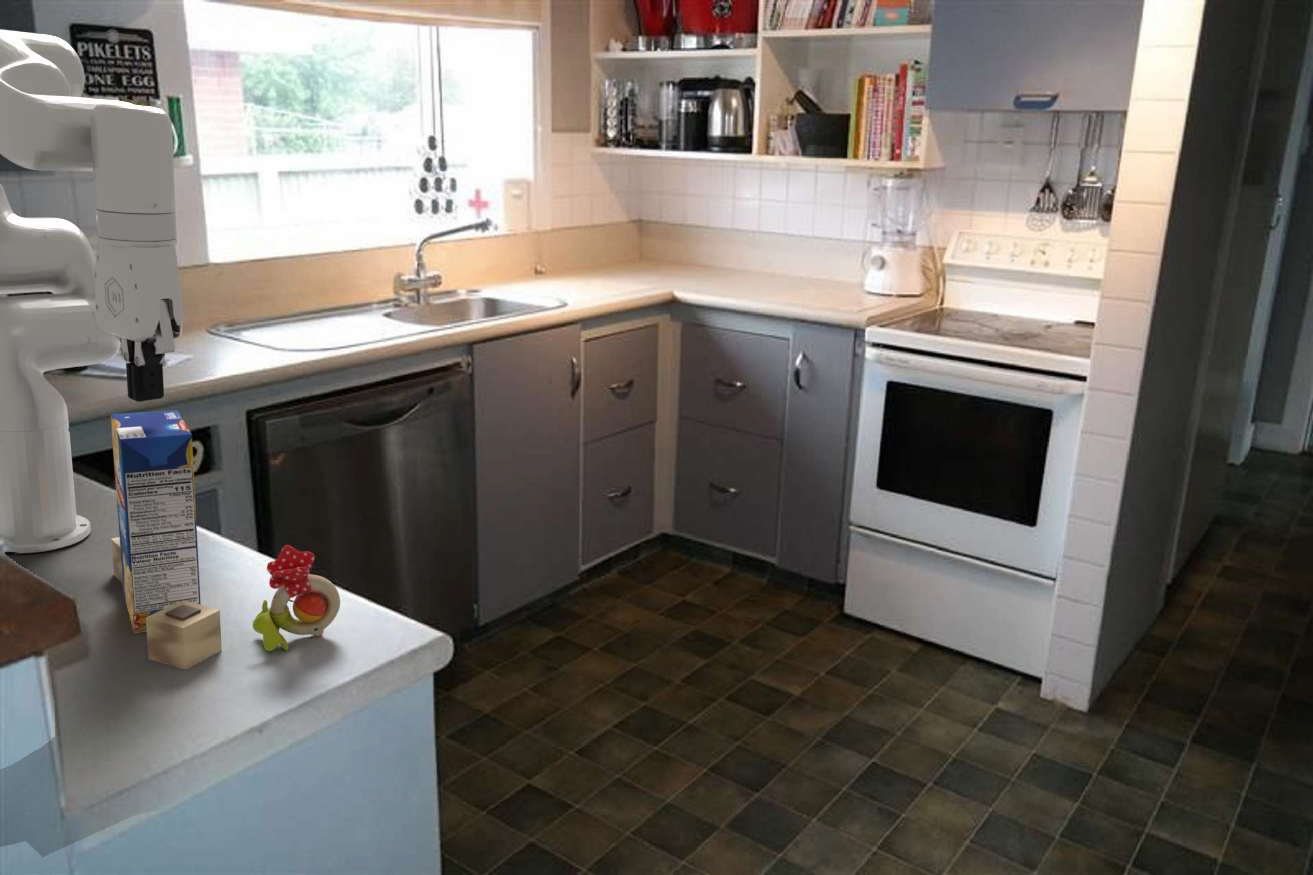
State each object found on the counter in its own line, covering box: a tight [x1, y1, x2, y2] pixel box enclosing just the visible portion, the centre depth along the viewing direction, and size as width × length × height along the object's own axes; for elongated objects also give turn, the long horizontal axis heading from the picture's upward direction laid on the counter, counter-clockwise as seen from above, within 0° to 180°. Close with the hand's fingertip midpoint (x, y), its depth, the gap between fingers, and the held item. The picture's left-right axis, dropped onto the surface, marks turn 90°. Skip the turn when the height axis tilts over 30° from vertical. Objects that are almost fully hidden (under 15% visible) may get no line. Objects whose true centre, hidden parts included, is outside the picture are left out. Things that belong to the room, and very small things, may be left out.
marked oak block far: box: [110, 536, 123, 584], centre depth 130 cm, size 5×5×5 cm
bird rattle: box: [252, 544, 341, 652], centre depth 117 cm, size 6×11×9 cm
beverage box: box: [110, 409, 202, 633], centre depth 120 cm, size 7×11×22 cm, turn 31°
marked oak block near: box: [146, 600, 222, 670], centre depth 112 cm, size 5×5×5 cm
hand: (146, 398), depth 117 cm, fingers closed
